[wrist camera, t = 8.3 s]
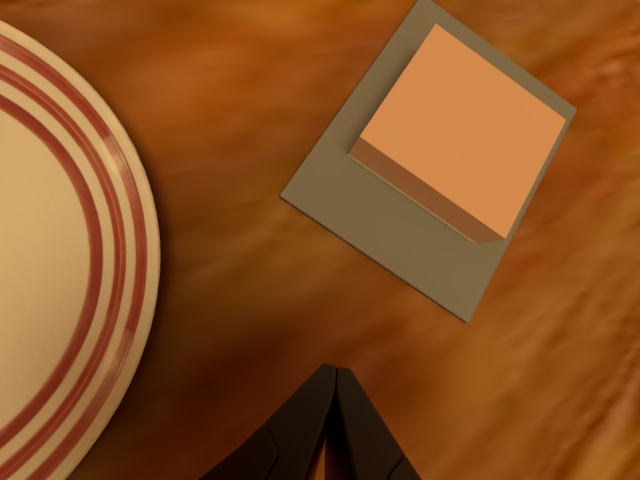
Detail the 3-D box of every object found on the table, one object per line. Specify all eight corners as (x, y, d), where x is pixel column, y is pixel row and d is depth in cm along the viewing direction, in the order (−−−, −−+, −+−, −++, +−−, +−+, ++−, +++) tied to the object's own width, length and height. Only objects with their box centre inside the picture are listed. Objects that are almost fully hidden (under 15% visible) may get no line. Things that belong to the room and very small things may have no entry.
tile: (505, 238, 19) (566, 120, 20) (359, 136, 18) (436, 23, 20) (474, 244, 21) (531, 139, 23) (347, 155, 21) (415, 54, 22)
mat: (464, 322, 21) (468, 323, 20) (279, 197, 20) (279, 195, 20) (572, 111, 25) (577, 109, 24) (419, -2, 24) (422, -7, 23)
